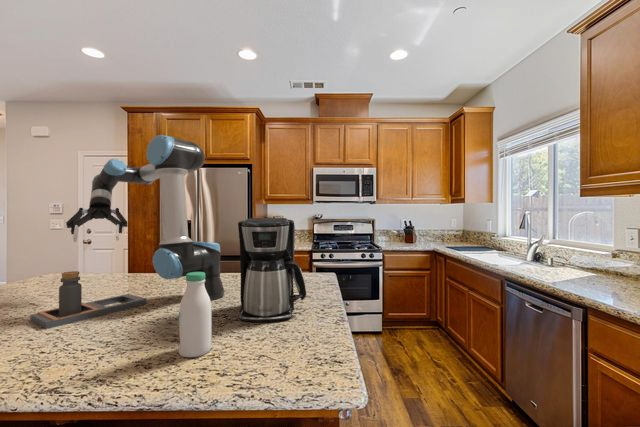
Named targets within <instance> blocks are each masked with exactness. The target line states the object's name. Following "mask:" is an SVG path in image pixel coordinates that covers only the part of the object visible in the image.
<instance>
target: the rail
mask: <svg viewBox="0 0 640 427" xmlns="http://www.w3.org/2000/svg"><path fill="white" fill-rule="evenodd" d="M120 302H122V303H120ZM116 303H117V304H116ZM111 304H112V305H111ZM146 304H147V298H145V297H141V296H137V295H135V294H130V293H126V294H122V295H116V296H113V297H107V298H103V299H97V300H94V301H88V302H82V304H81V312H80V313H76V314H71V315H67V316H63V317H59V307H55V308H51V309H47V310H43V311H37V313H32V314H30V316H29V317H30V318H29V321H30V322H32V323H33V324H35V325H37V326H39V327H41V328H43V329H45V330H48V329H51V328H56V327H59V326H64V325H67V324H71V323H76V322H80V321H83V320H88V319H90V318H95V317H100V316H104V315H107V314H111V313H115V312H119V311H123V310H127V309H130V308H131V309H132V308H135V307H139V306H143V305H146ZM107 305H108V306H107Z"/></svg>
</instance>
